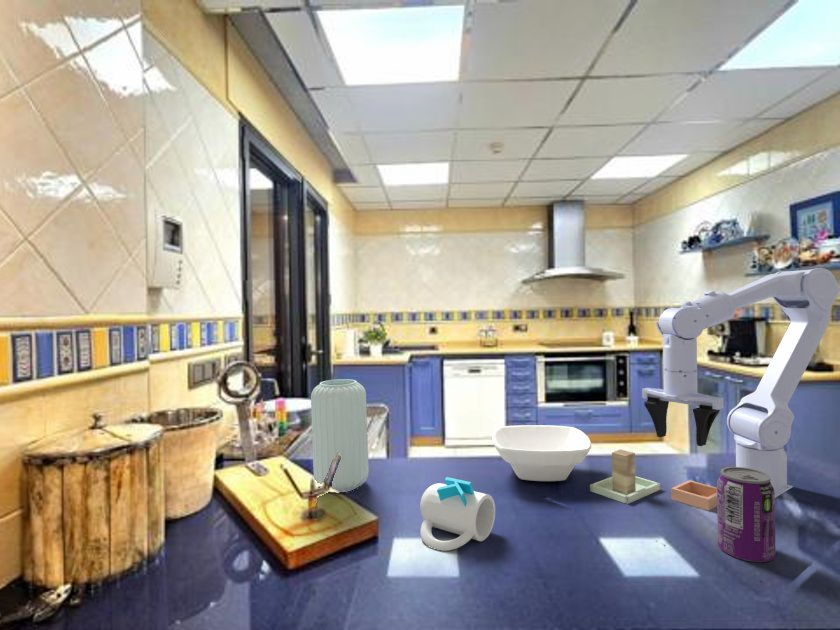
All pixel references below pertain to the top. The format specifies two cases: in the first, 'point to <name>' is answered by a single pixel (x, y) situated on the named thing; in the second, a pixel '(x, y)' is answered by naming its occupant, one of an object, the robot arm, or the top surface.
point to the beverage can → (746, 514)
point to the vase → (340, 432)
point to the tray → (642, 490)
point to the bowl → (541, 450)
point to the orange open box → (695, 495)
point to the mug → (456, 513)
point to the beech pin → (623, 471)
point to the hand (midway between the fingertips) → (680, 440)
